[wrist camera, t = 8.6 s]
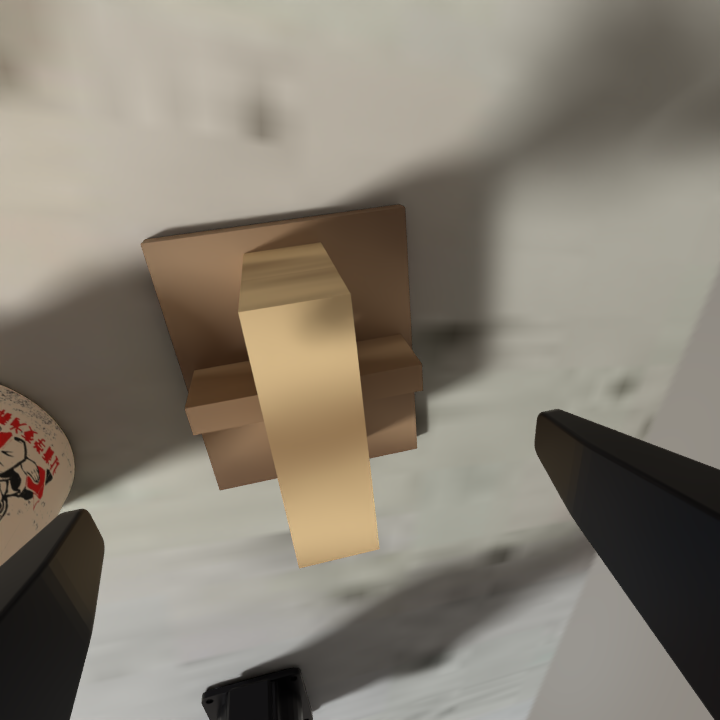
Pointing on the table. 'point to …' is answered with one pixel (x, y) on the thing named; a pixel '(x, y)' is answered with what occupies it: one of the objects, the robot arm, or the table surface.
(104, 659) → the table surface
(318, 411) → the tan notched block
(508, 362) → the table surface
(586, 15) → the table surface
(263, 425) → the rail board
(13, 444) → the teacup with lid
